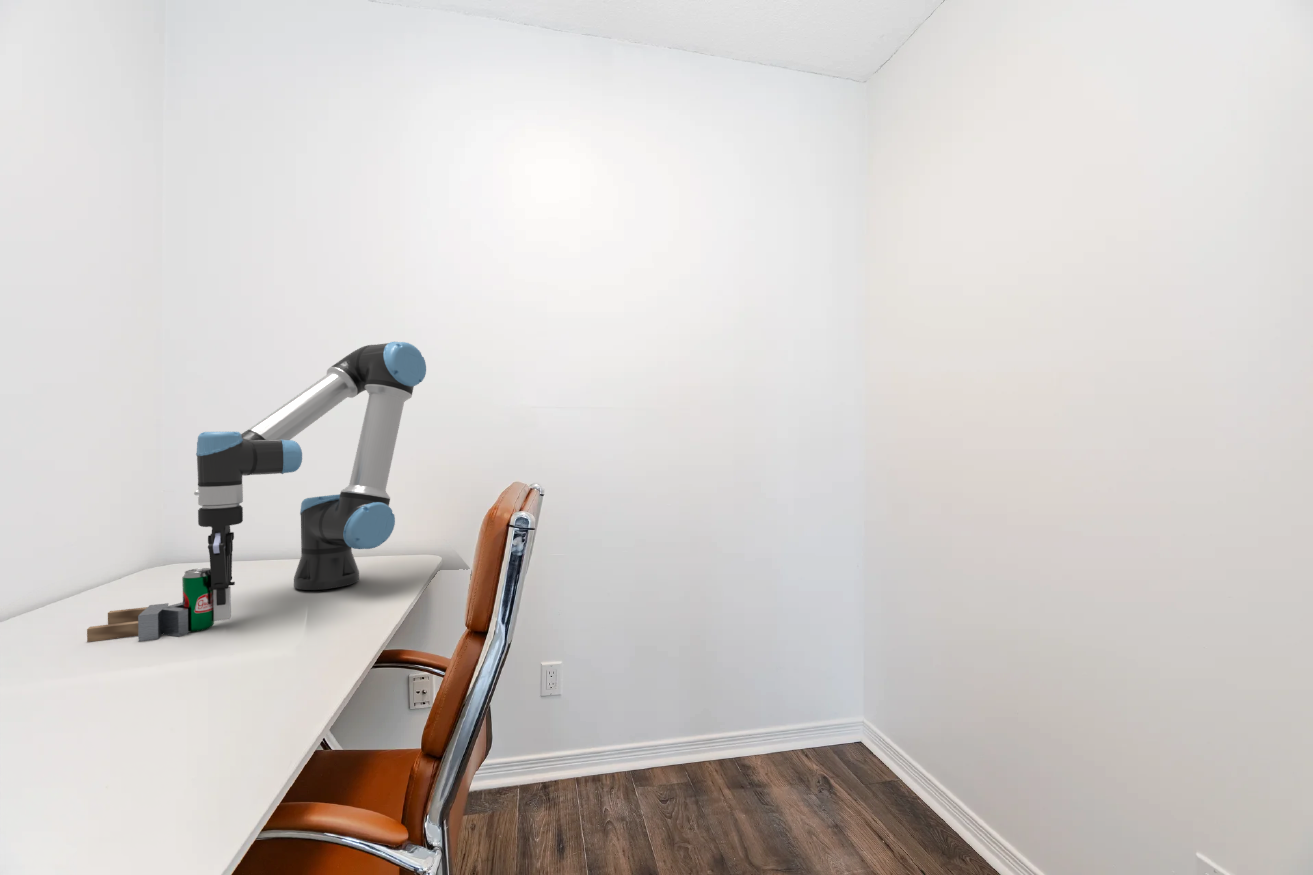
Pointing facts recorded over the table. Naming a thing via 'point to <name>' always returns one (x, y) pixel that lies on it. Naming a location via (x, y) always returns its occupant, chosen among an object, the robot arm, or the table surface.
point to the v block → (162, 621)
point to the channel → (116, 625)
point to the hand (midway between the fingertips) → (222, 618)
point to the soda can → (198, 599)
